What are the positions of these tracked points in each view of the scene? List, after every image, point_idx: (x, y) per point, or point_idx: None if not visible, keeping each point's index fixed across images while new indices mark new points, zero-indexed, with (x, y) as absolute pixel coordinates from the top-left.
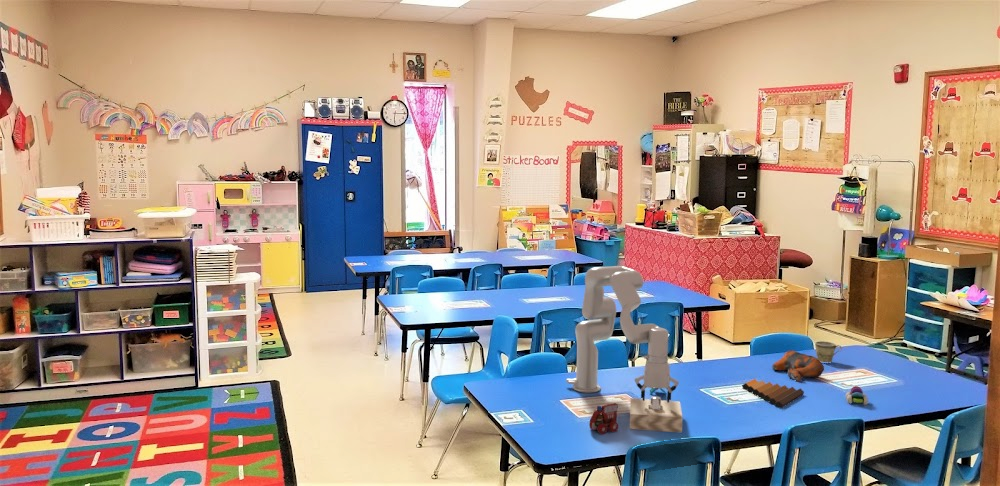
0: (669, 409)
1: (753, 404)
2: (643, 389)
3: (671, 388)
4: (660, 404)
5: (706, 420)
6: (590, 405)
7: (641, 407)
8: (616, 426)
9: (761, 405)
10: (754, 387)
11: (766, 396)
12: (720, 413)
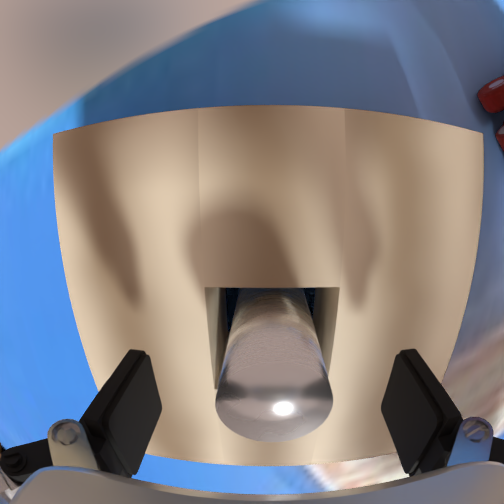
0: (151, 317)
1: (15, 446)
2: (463, 437)
3: (48, 466)
4: (225, 354)
5: (43, 348)
6: (497, 400)
7: (393, 318)
8: (492, 88)
9: (3, 437)
10: None
11: None
12: (36, 408)
